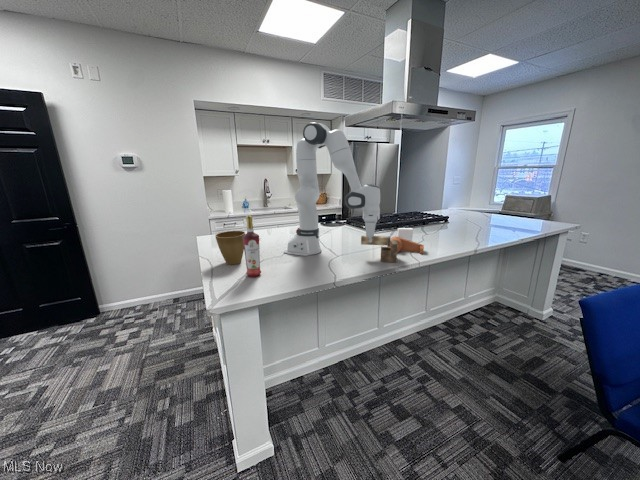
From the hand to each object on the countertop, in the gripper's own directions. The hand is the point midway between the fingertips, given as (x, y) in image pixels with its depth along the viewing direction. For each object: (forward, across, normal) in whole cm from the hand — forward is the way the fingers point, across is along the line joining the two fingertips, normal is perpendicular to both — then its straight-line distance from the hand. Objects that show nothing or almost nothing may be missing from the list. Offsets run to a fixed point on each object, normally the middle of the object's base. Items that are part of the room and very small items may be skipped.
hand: (370, 241), depth 141 cm
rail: (+2, 0, +2) cm, 3 cm away
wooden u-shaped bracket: (+10, 0, +10) cm, 14 cm away
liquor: (+10, +34, -52) cm, 63 cm away
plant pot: (+9, +20, -71) cm, 75 cm away
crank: (+11, -17, +20) cm, 28 cm away
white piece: (+10, -26, +20) cm, 34 cm away
